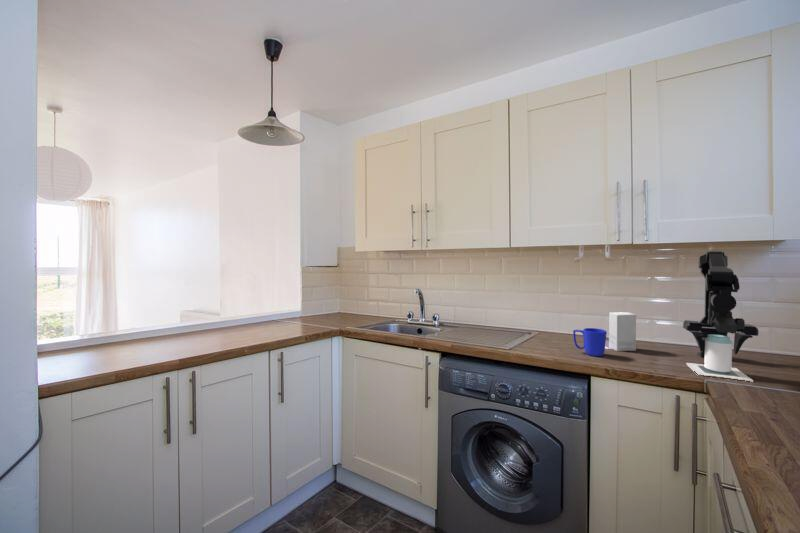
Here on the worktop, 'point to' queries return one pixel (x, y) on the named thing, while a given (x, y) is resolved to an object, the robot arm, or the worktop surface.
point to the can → (718, 353)
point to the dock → (733, 374)
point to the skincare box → (622, 331)
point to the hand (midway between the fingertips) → (718, 352)
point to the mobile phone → (607, 345)
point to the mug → (592, 341)
